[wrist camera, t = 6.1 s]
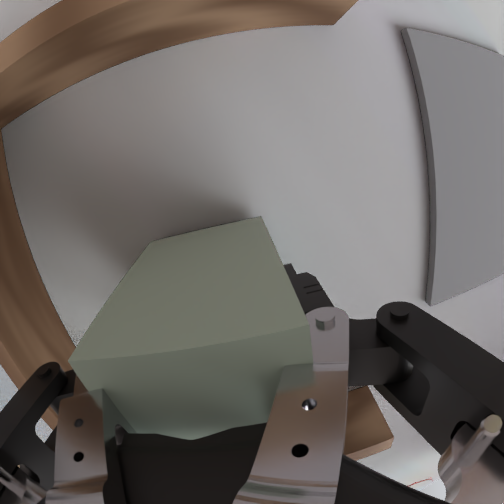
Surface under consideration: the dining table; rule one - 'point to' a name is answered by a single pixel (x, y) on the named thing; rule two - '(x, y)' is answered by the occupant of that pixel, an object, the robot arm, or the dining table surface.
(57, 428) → the robot arm
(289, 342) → the sage block
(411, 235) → the dining table surface
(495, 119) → the grey mat
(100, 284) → the dining table surface
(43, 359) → the walnut u-shaped frame
